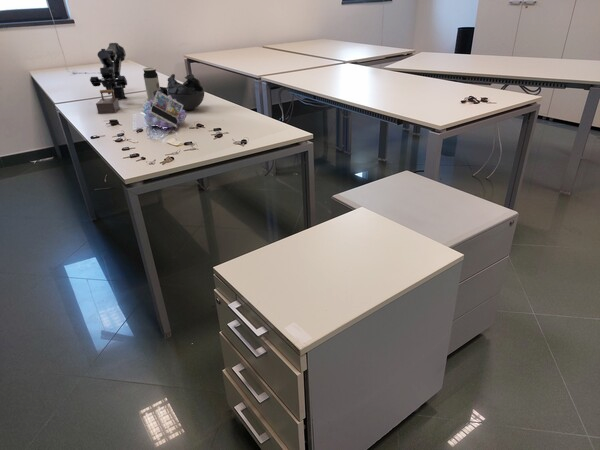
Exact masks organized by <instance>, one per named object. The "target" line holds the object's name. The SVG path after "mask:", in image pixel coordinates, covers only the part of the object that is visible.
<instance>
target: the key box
mask: <svg viewBox="0 0 600 450" xmlns="http://www.w3.org/2000/svg"><path fill="white" fill-rule="evenodd" d="M95 105H96V104H95ZM119 109H120V103H119V100H118V99H117V101H116V102H115V103H114V104H106V105H96V110H97V114H100V115H102V114H117V112H118V111H119Z"/></svg>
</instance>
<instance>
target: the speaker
mask: <svg viewBox="0 0 600 450" xmlns="http://www.w3.org/2000/svg"><path fill="white" fill-rule="evenodd" d="M159 87H160V90H158V91H160V92H162V93H163V94H165V95H167V92H168V90H167V87H164V86H159ZM156 93H157V90H156V91H154V92H153V94H154V97H155V95H156ZM167 96H168V95H167Z"/></svg>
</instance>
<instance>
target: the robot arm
mask: <svg viewBox="0 0 600 450" xmlns="http://www.w3.org/2000/svg"><path fill="white" fill-rule="evenodd" d="M126 53H127V52H126V50H125V49H124V47H123V46H122V45H120V44H119V43H117V42H109V43H108V46H107V48H101V49H100V50H99V51H98V52H97V57H98V59H99V61H100V64H102V65H103V66H102V67H99V72H100V73H99V74H100V75H101V78H99V77H98V76H90V77H89V82H90V84H91V85H92V87H100V86H101V85H102V87H103V88H105V90H114V96H115V98H118V101H119V100H123V99H127V96H126V94H125V90H124V89H126V86H128V80H127V78H126V76H125V75H121V69H122V62H124V61H125V59H126V56H127V54H126ZM107 94H108V96H109V95H111V98H113V94H112V93H107Z"/></svg>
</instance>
